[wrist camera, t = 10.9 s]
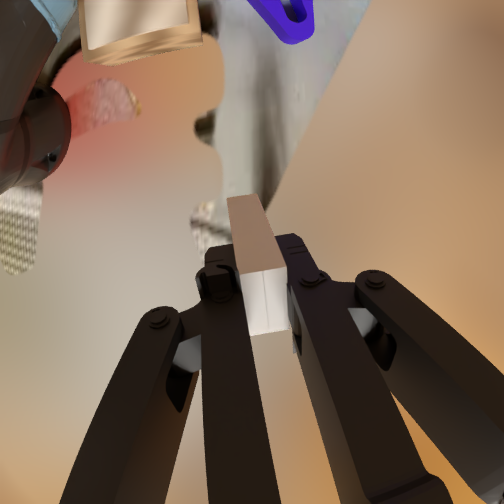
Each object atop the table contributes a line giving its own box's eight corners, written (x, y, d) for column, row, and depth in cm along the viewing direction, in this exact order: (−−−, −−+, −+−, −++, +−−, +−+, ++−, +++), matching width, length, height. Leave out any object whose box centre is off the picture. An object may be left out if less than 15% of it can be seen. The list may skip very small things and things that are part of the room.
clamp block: (112, 66, 30) (80, 61, 21) (106, 9, 26) (74, -12, 17) (203, 45, 31) (200, 29, 22) (195, -13, 26) (191, -45, 17)
